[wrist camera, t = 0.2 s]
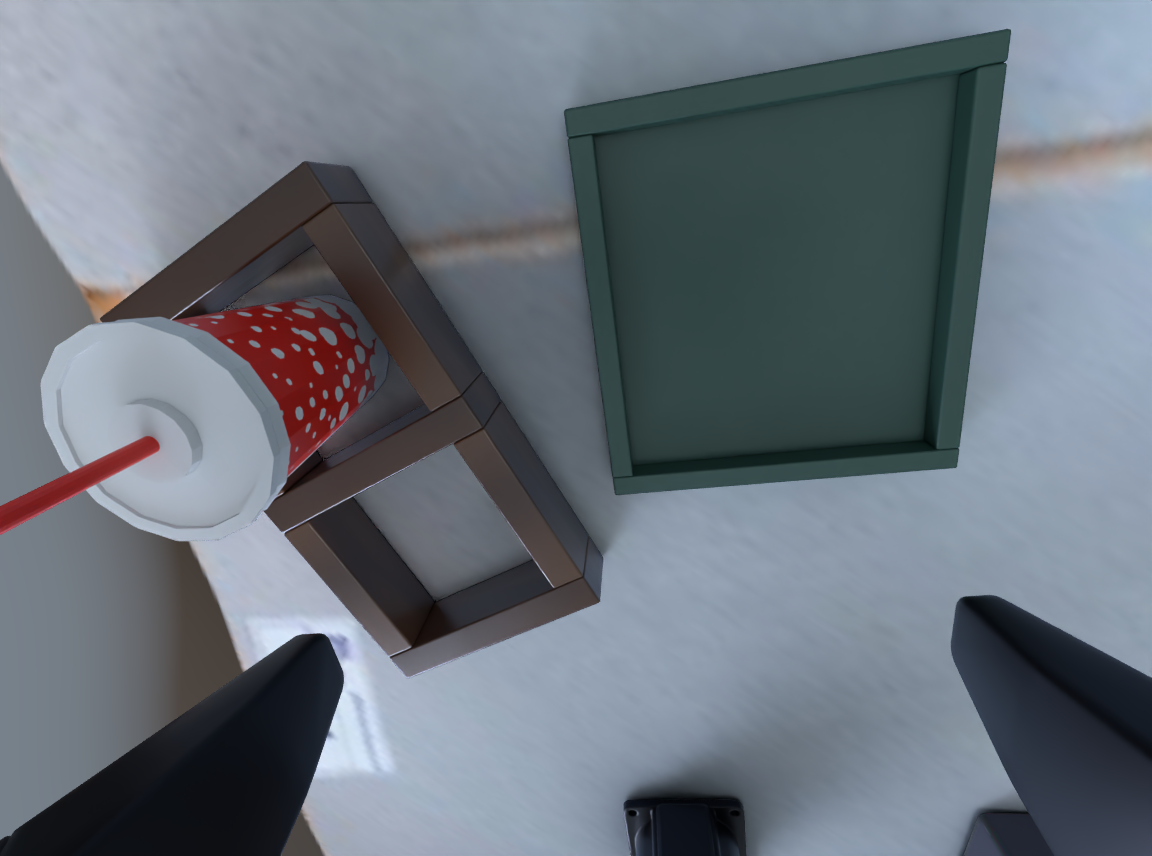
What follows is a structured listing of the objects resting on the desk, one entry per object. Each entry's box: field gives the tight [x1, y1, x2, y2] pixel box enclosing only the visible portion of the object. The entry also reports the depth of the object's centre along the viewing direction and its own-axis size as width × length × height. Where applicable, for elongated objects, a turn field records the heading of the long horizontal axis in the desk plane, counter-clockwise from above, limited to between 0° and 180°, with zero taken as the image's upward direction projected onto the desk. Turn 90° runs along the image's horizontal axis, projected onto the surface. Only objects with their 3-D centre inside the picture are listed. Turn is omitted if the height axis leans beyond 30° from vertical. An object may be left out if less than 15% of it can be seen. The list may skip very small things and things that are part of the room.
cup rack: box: [100, 161, 603, 678], centre depth 22 cm, size 19×10×3 cm, turn 30°
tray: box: [564, 29, 1011, 495], centre depth 19 cm, size 14×13×2 cm
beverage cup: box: [0, 295, 389, 541], centre depth 16 cm, size 6×6×14 cm
